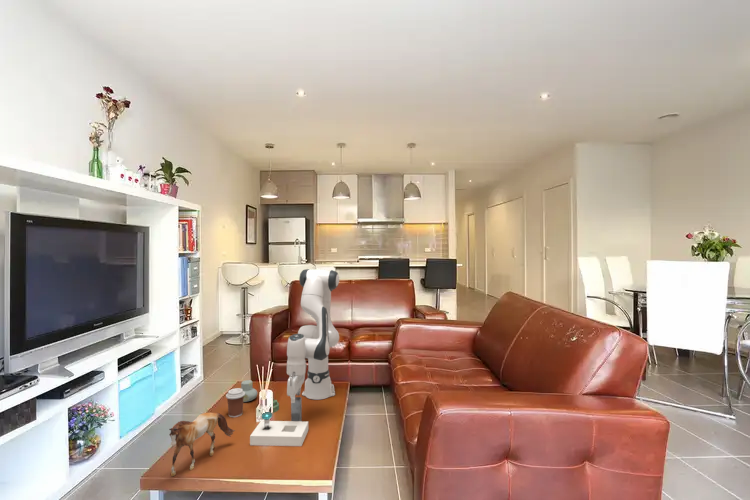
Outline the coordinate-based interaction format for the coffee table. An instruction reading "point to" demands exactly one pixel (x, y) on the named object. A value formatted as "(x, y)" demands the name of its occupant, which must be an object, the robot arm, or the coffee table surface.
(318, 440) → the coffee table surface
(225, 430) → the horse figurine
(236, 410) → the coffee cup
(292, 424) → the socket block
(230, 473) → the coffee table surface
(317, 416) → the coffee table surface
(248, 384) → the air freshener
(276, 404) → the decorative artifact
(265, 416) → the lock pin
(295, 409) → the peg
